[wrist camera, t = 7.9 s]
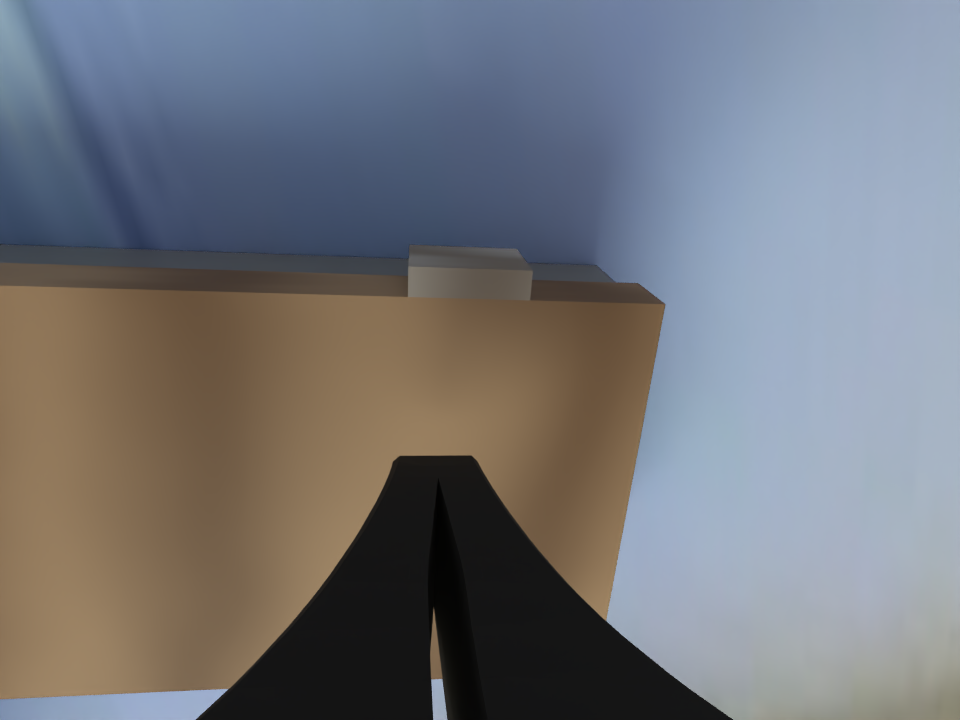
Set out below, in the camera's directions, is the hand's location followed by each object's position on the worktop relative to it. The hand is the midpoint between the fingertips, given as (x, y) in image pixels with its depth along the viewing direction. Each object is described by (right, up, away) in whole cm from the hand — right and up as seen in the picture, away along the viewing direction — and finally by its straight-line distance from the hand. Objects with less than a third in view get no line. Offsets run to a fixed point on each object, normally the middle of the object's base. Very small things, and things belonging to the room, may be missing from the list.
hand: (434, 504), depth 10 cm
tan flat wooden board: (-6, 0, +4) cm, 7 cm away
